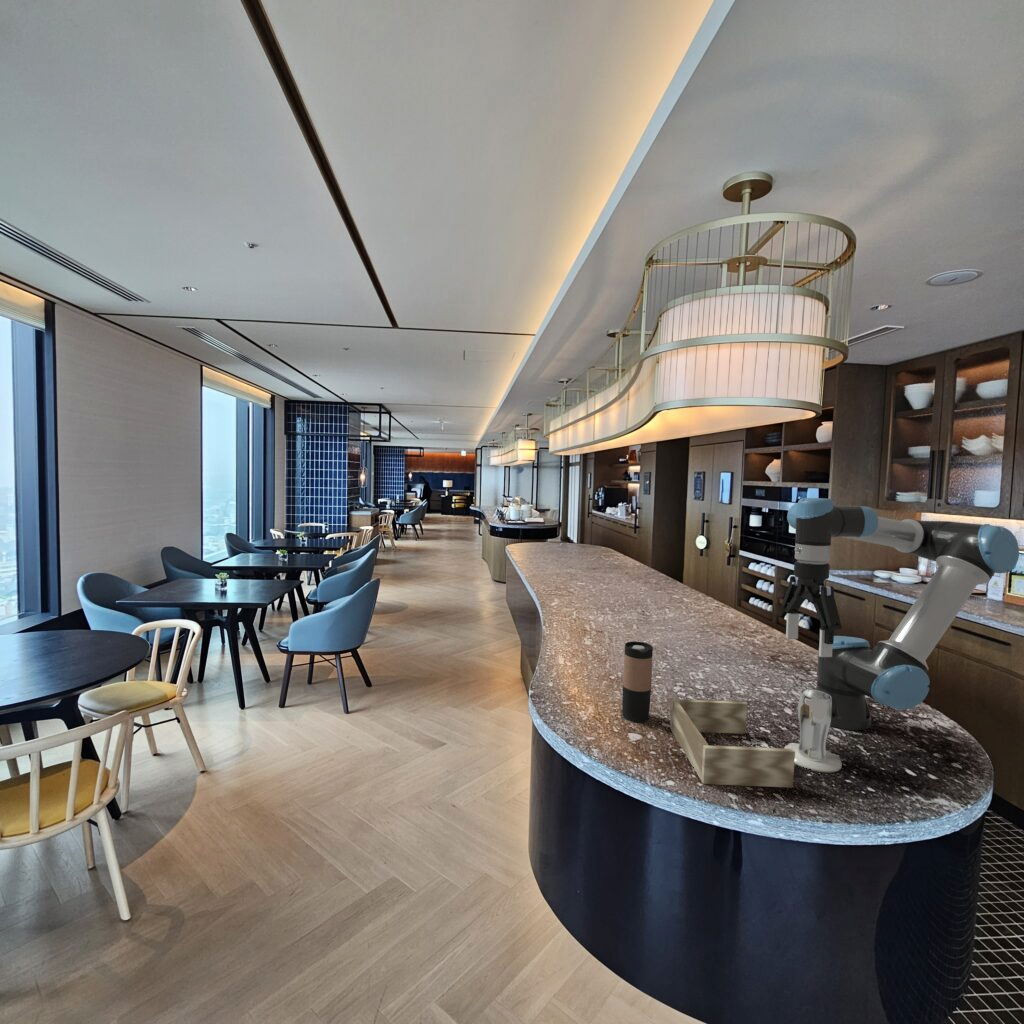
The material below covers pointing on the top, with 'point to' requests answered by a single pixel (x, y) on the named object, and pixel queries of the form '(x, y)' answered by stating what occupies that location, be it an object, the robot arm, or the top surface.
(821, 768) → the coaster
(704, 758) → the open side box
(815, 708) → the beer glass
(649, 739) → the top surface
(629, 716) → the travel mug
